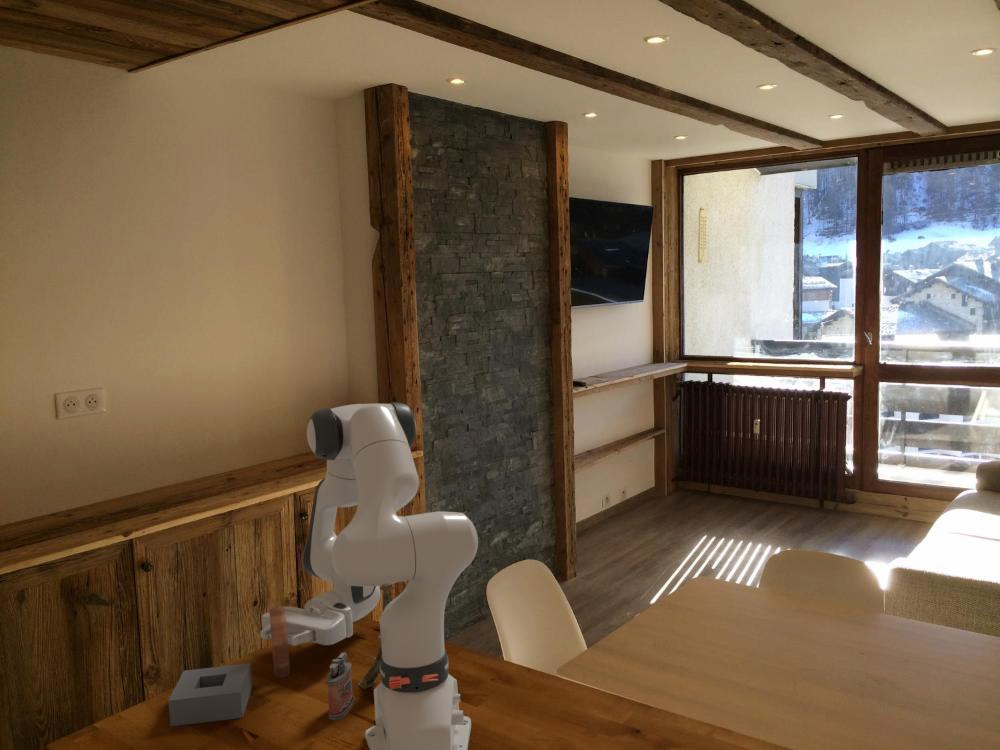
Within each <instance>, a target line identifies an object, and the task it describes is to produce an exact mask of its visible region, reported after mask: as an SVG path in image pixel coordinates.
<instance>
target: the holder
mask: <svg viewBox="0 0 1000 750" xmlns="http://www.w3.org/2000/svg"><path fill="white" fill-rule="evenodd" d="M177 681H178V682H177V683H176V685H175V687H174V688H173V691H172V693H171V694H170V696H169V698H168V701H167V703H168V710H169V711H168V712H169V713H168V714H169V722H170V723H169V724H170V727H177V726H184V725H194V724H202V723H210V722H211V723H212V722H217V721H218V722H220V721H226V720H234V719H235V720H236V719H243V718H244V714H245V712H246V708H247V705H248V702H249V699H250V695H251V693H252V689H253V678H252V667H251V663H250V662H249V663H248V662H247V663H240V664H233V665H232V664H231V665H223V666H215V667H214V666H213V667H206V668H196V669H195V668H194V669H187V670H183V672H182V673H181V675H180V678H179V679H178V680H177Z"/></svg>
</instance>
